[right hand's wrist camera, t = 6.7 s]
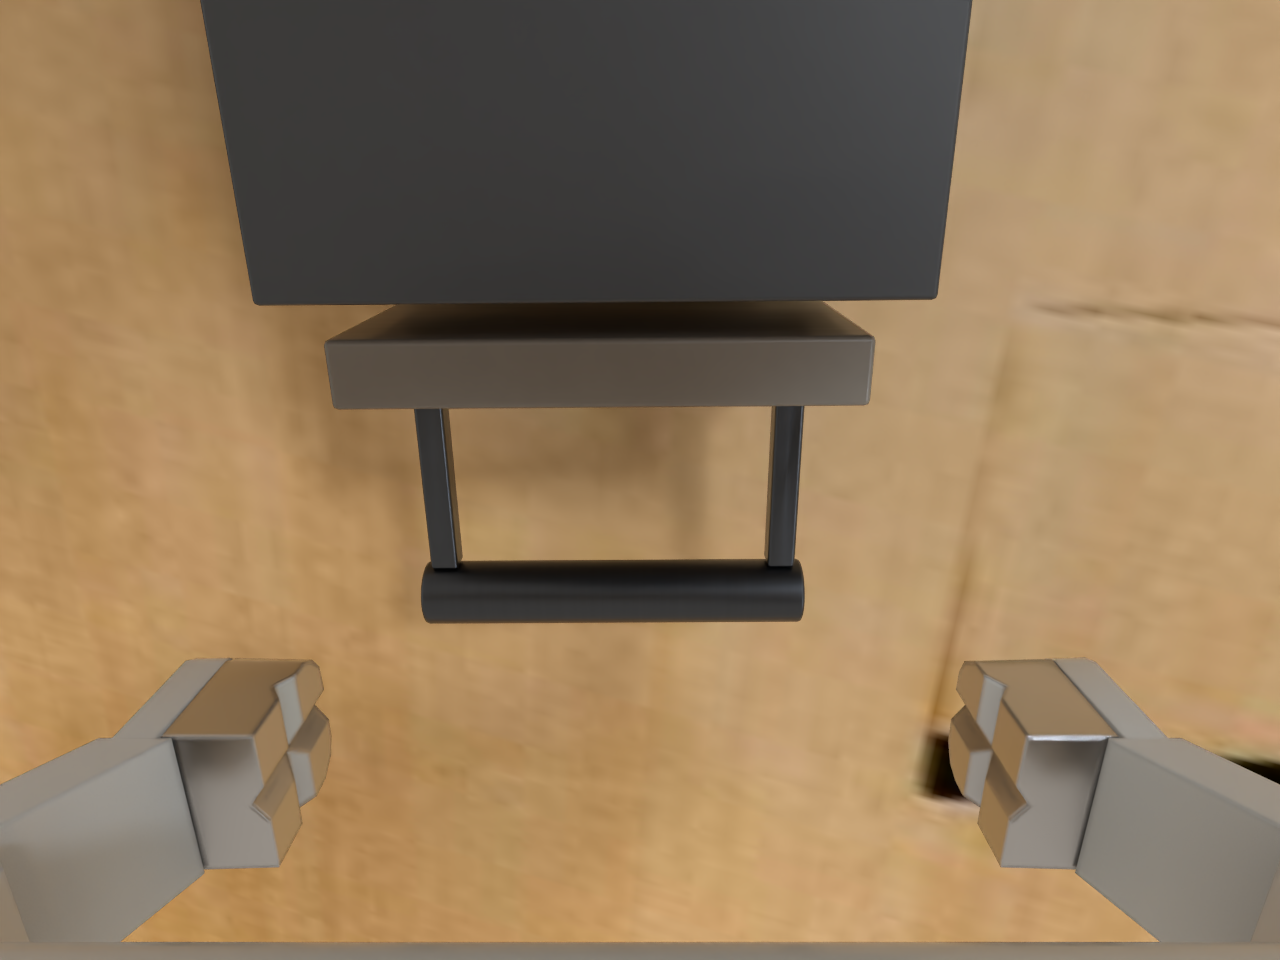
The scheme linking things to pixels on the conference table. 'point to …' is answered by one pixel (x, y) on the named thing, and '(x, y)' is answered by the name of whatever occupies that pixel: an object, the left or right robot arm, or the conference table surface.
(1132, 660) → the conference table surface
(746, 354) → the drawer
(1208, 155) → the conference table surface
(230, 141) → the cabinet
